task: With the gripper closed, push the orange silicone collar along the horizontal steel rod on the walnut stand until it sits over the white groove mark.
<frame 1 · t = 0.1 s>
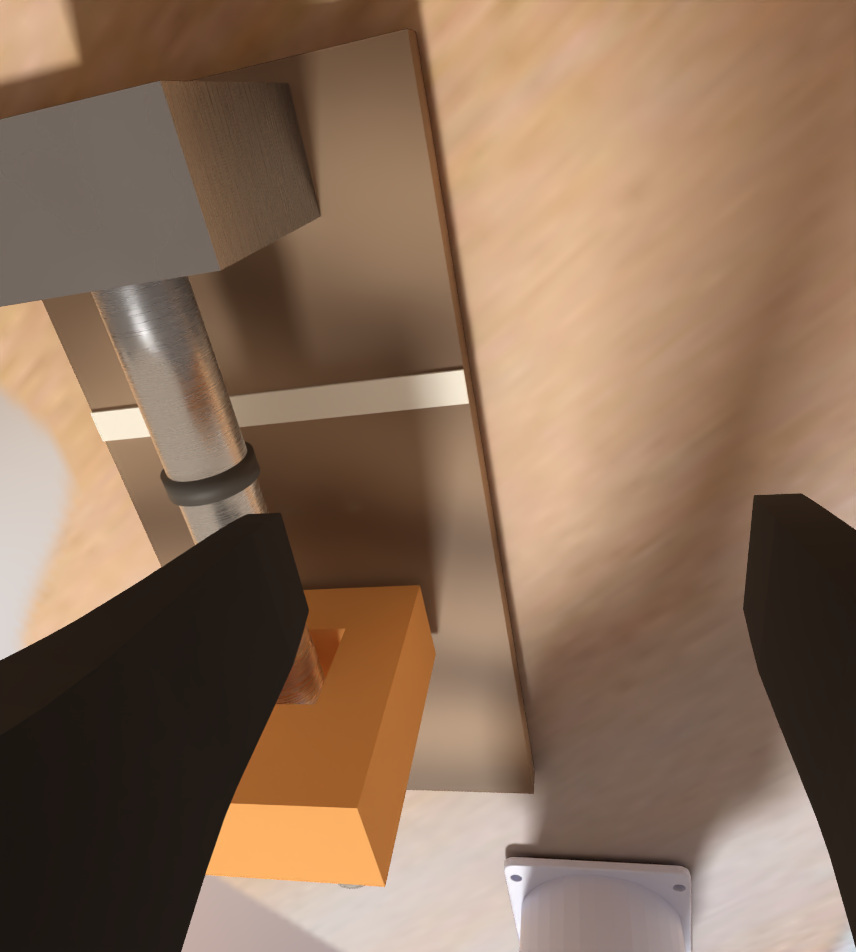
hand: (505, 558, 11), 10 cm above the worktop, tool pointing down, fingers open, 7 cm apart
collar: (291, 714, 20), point 5 cm above the worktop, slide at 0.0 cm
rod stand: (329, 551, 24), on the worktop
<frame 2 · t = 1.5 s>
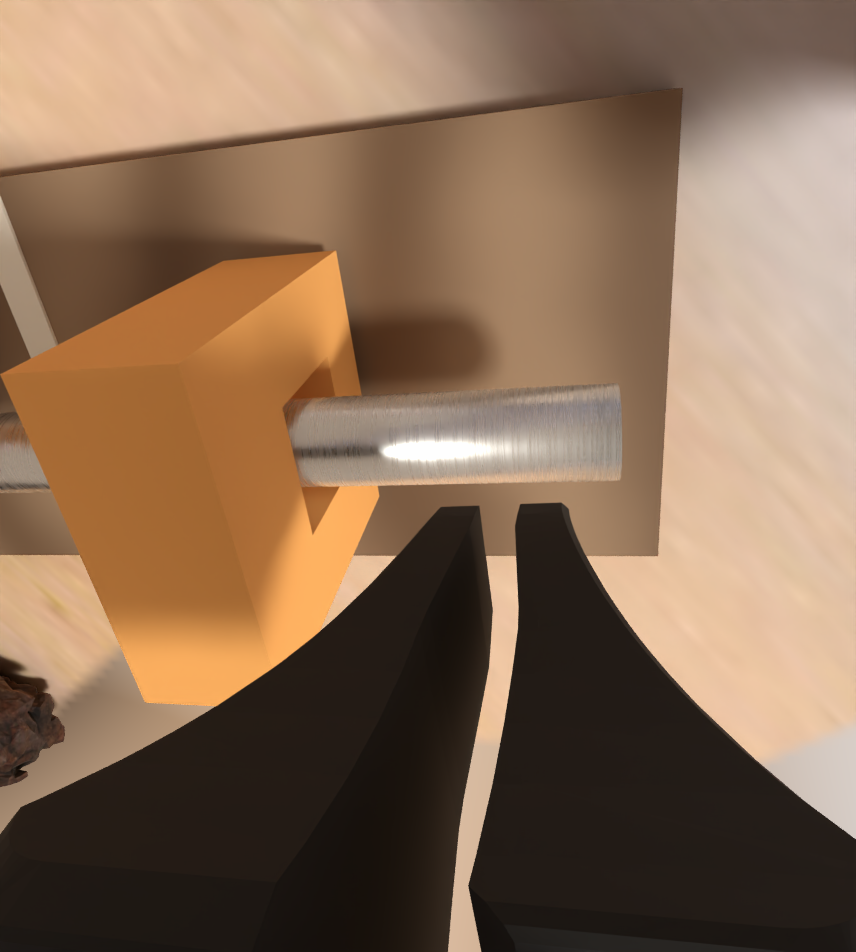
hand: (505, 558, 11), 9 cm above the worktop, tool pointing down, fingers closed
collar: (249, 454, 15), point 5 cm above the worktop, slide at 0.0 cm
rod stand: (258, 371, 20), on the worktop
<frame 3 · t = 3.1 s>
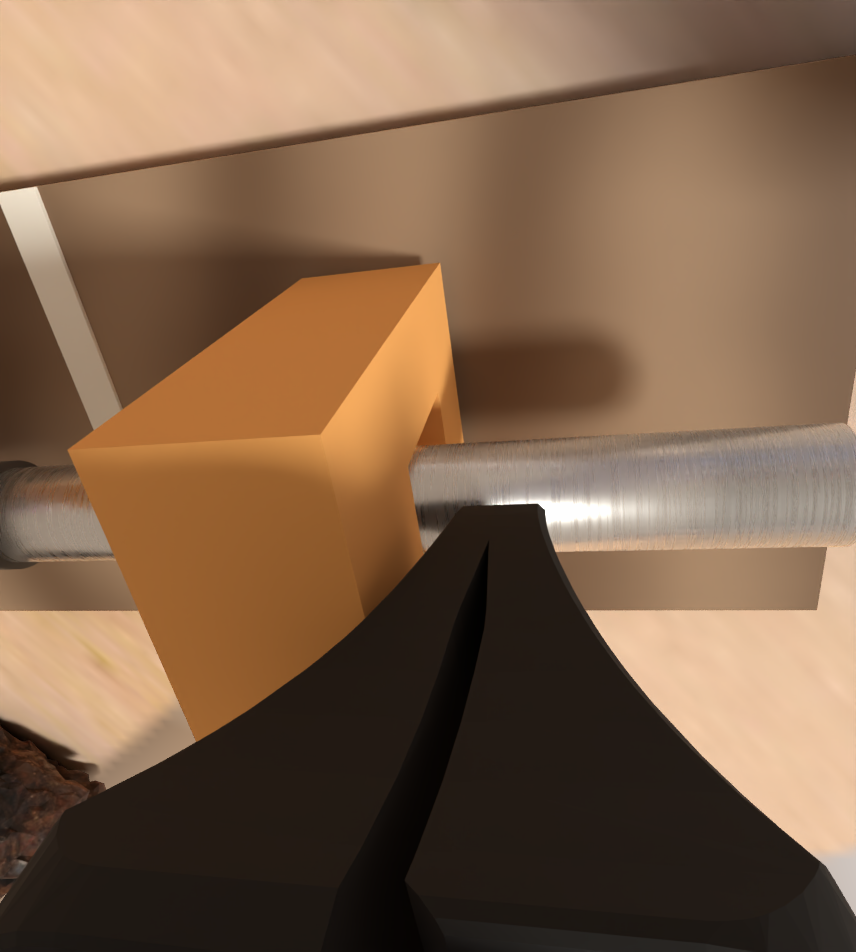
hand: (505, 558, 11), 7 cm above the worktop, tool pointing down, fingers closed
collar: (351, 516, 12), point 6 cm above the worktop, slide at 0.2 cm, touching gripper
rod stand: (341, 403, 17), on the worktop
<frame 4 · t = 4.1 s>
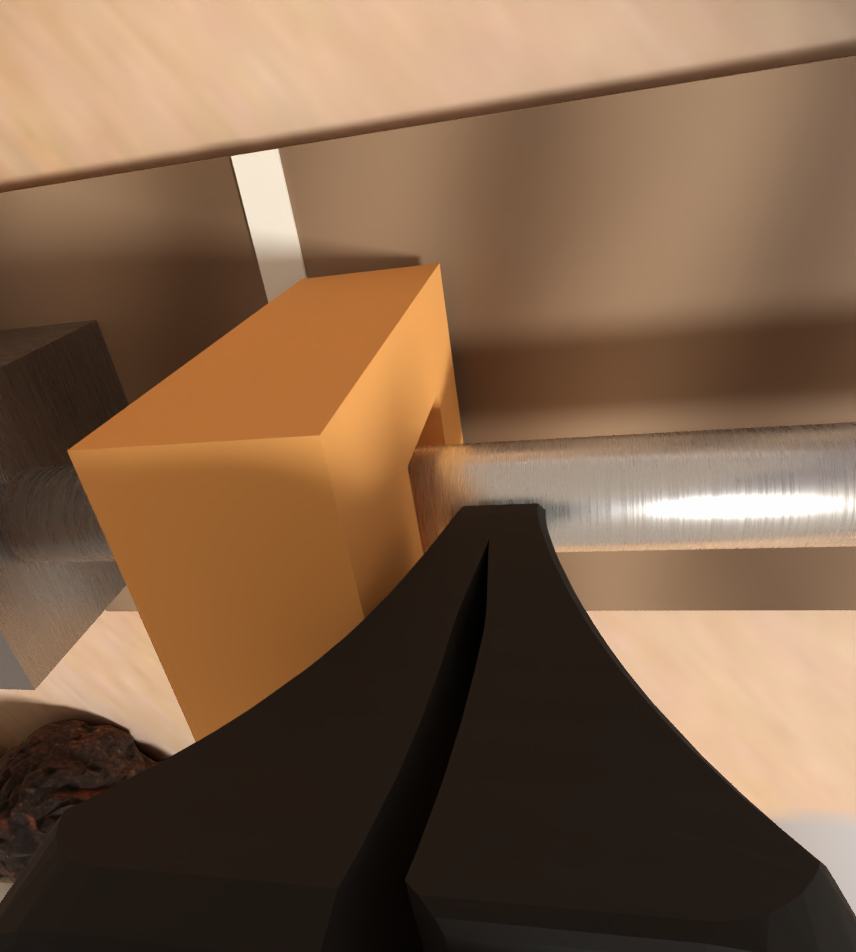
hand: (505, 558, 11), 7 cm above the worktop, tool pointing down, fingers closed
dark brown lumpy piece: (57, 752, 28), on the worktop
collar: (351, 517, 12), point 6 cm above the worktop, slide at 5.9 cm, touching gripper
rod stand: (569, 387, 16), on the worktop
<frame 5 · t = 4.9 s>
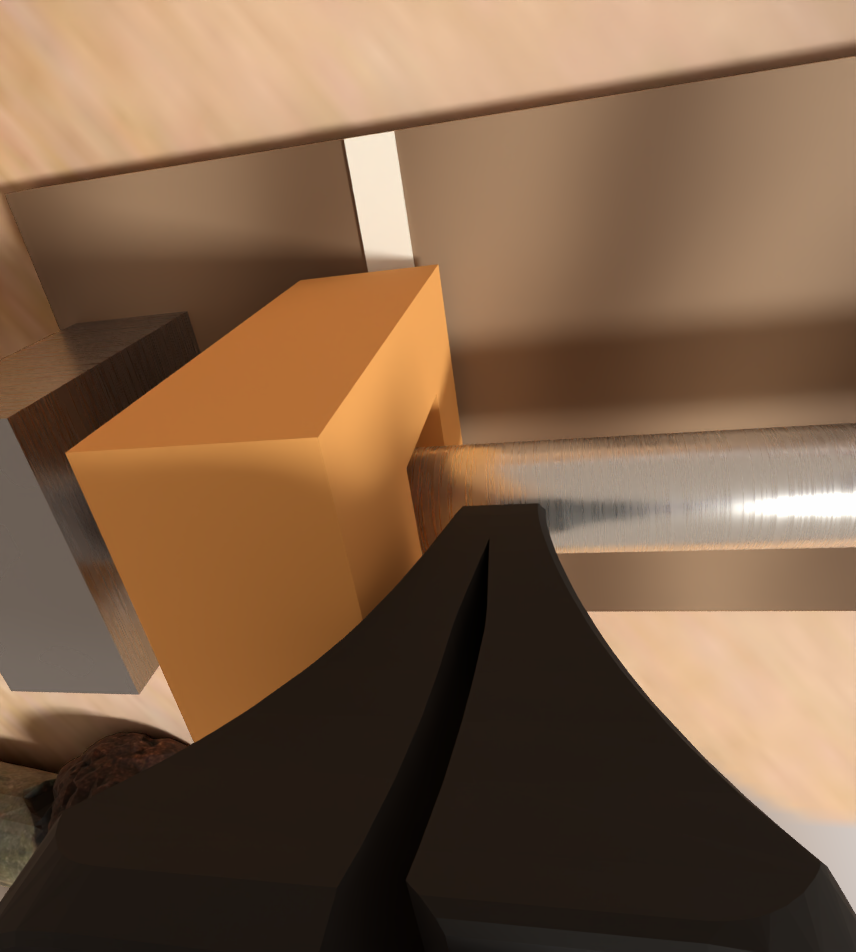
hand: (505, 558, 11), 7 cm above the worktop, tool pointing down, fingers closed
dark brown lumpy piece: (109, 762, 28), on the worktop
collar: (350, 518, 12), point 5 cm above the worktop, slide at 8.4 cm, touching gripper
rod stand: (676, 380, 16), on the worktop
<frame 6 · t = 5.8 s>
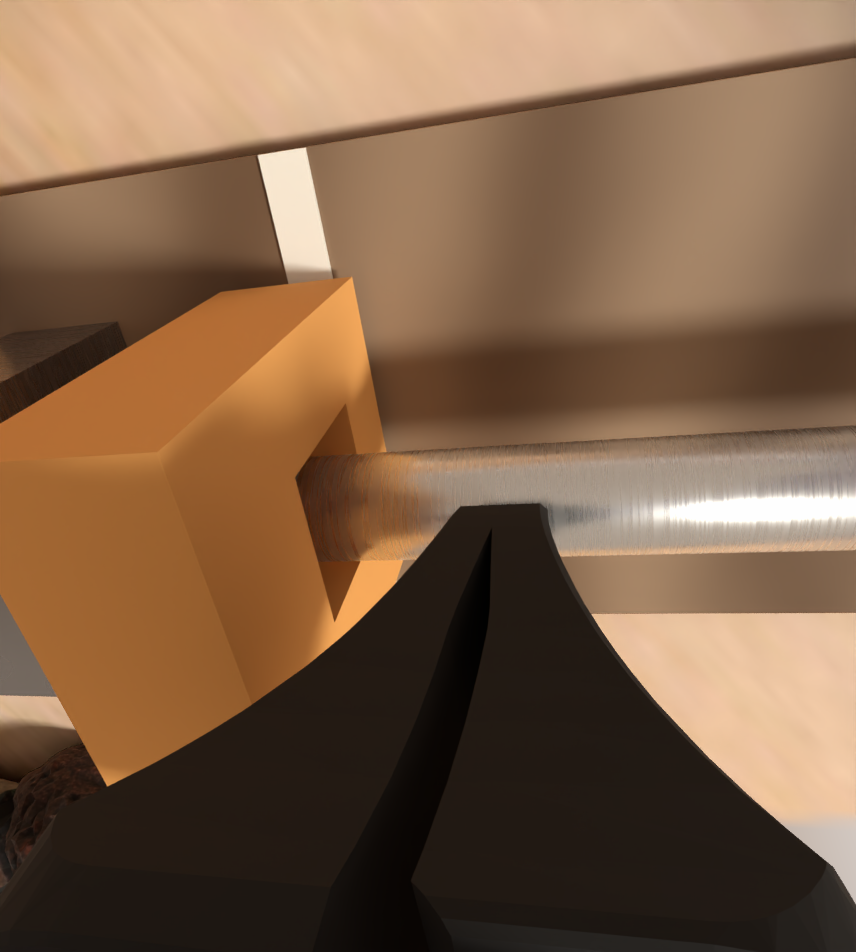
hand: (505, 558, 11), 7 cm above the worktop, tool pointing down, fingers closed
dark brown lumpy piece: (72, 772, 28), on the worktop
collar: (256, 525, 13), point 6 cm above the worktop, slide at 8.4 cm
rod stand: (595, 388, 16), on the worktop
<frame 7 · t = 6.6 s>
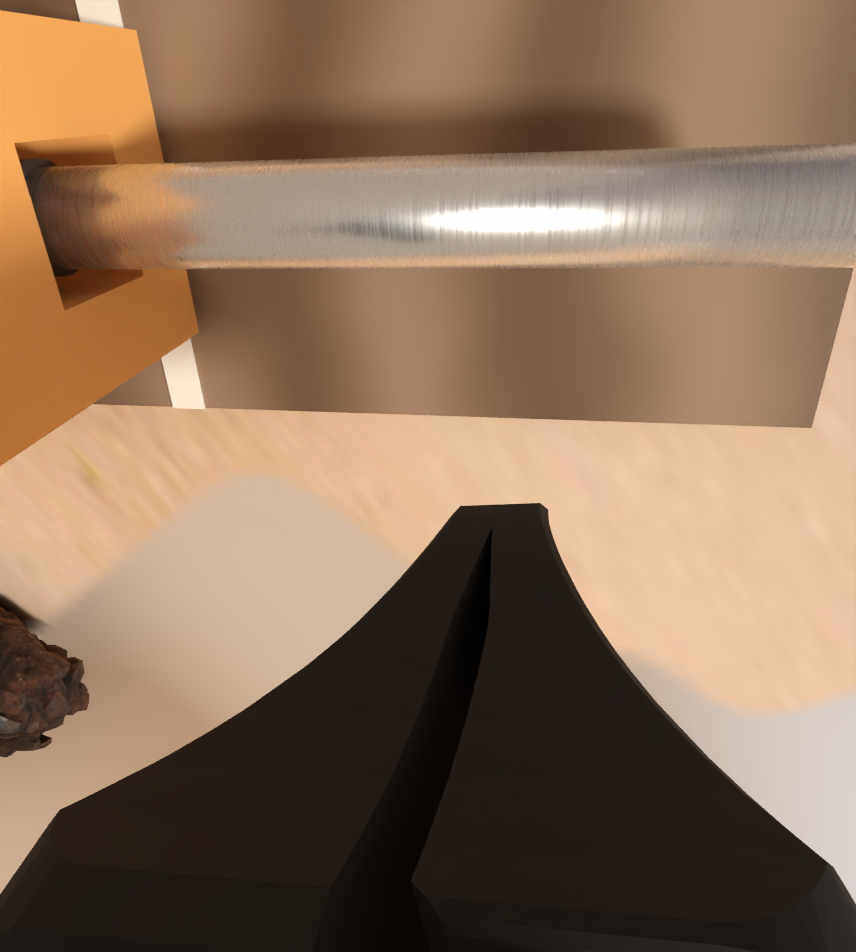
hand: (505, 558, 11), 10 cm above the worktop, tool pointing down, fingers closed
collar: (7, 223, 14), point 6 cm above the worktop, slide at 8.4 cm
rod stand: (375, 185, 18), on the worktop
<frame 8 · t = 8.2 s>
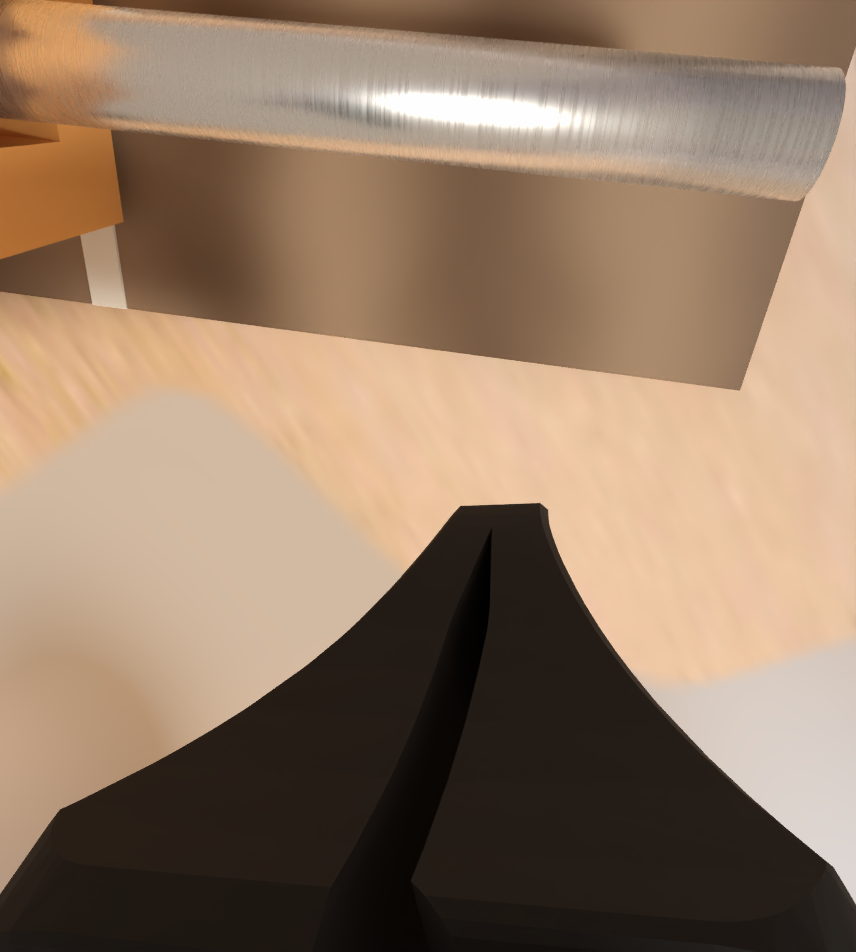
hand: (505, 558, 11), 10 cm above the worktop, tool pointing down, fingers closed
rod stand: (323, 84, 17), on the worktop
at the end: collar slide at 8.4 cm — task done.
